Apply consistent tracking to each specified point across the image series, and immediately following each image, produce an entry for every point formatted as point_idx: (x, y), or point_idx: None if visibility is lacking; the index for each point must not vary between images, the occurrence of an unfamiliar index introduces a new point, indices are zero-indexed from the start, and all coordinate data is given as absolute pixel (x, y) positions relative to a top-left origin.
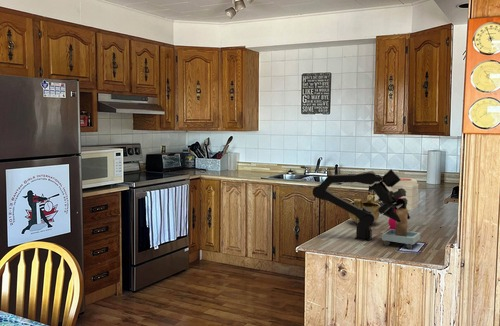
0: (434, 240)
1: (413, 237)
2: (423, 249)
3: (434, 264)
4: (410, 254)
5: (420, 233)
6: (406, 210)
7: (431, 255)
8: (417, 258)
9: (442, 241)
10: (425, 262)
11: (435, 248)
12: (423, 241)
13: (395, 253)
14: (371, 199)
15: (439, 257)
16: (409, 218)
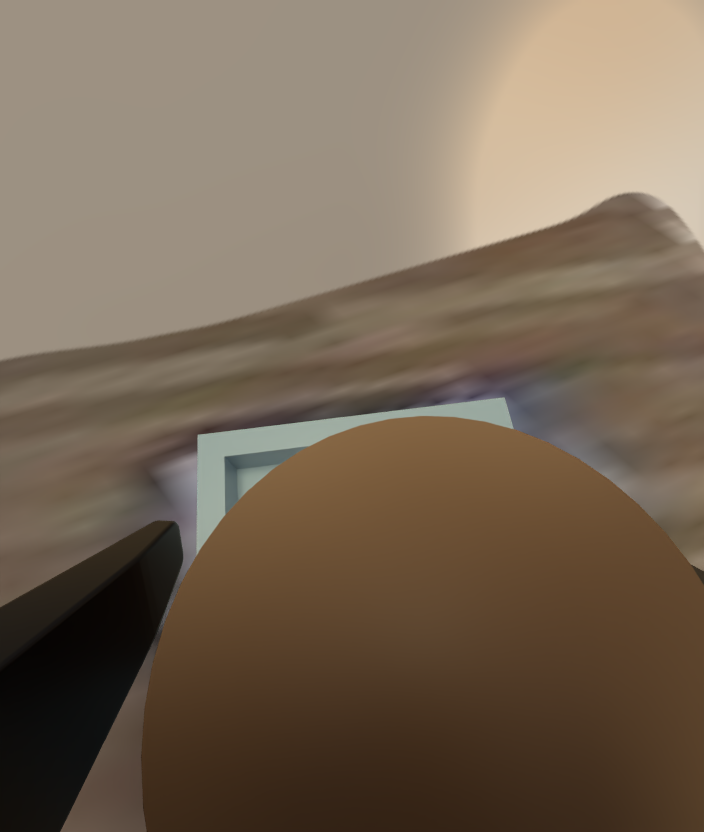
0: (29, 423)
1: (465, 412)
2: (390, 386)
3: (676, 220)
4: (609, 405)
5: (201, 436)
6: (484, 425)
7: (503, 292)
8: (657, 331)
9: (35, 364)
10: (690, 266)
11: (296, 332)
12: (118, 483)
13: (697, 510)
14: None
15: (506, 245)
16: (179, 531)
